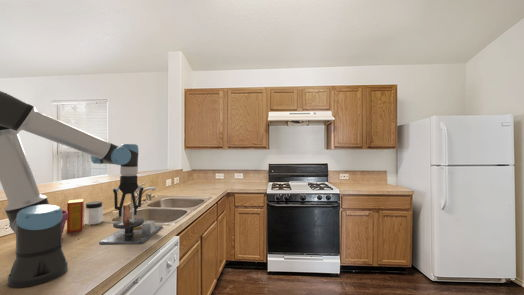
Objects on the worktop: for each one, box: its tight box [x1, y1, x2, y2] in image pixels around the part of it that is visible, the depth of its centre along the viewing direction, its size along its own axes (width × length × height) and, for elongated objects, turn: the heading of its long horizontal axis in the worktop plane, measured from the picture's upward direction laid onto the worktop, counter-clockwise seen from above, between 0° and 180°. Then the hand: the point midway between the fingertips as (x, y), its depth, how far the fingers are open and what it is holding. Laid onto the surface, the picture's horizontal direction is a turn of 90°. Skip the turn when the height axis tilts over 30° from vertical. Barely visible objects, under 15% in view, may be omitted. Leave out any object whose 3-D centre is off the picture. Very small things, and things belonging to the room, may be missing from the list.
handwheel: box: [112, 204, 145, 233], centre depth 123 cm, size 14×17×15 cm
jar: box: [84, 200, 104, 226], centre depth 144 cm, size 9×8×12 cm
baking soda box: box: [66, 198, 85, 233], centre depth 132 cm, size 10×6×16 cm
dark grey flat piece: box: [98, 220, 163, 245], centre depth 123 cm, size 24×20×6 cm
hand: (127, 222), depth 118 cm, fingers open, 4 cm apart
